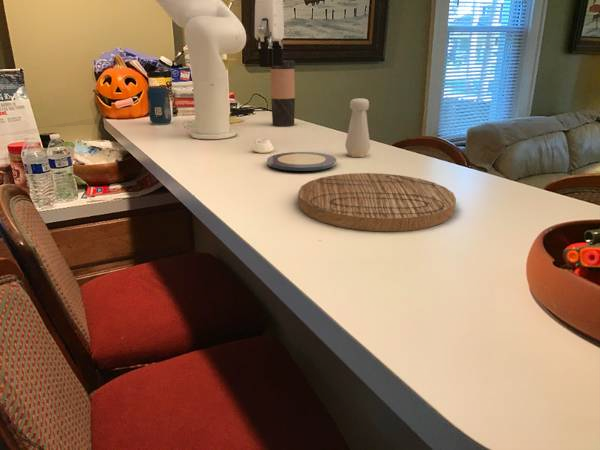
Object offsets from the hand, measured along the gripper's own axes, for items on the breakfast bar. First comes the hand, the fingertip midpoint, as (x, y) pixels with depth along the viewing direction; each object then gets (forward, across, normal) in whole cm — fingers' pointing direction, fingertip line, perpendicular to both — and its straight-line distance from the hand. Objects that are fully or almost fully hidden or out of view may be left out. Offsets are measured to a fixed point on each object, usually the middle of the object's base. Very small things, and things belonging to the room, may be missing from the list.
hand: (271, 66), depth 115 cm
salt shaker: (+20, +7, +22) cm, 31 cm away
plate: (+20, +19, +12) cm, 30 cm away
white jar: (+20, +7, 0) cm, 21 cm away
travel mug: (+20, -35, -6) cm, 40 cm away
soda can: (+20, -29, -47) cm, 59 cm away
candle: (+20, -38, -27) cm, 51 cm away
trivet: (+20, +43, +29) cm, 55 cm away
